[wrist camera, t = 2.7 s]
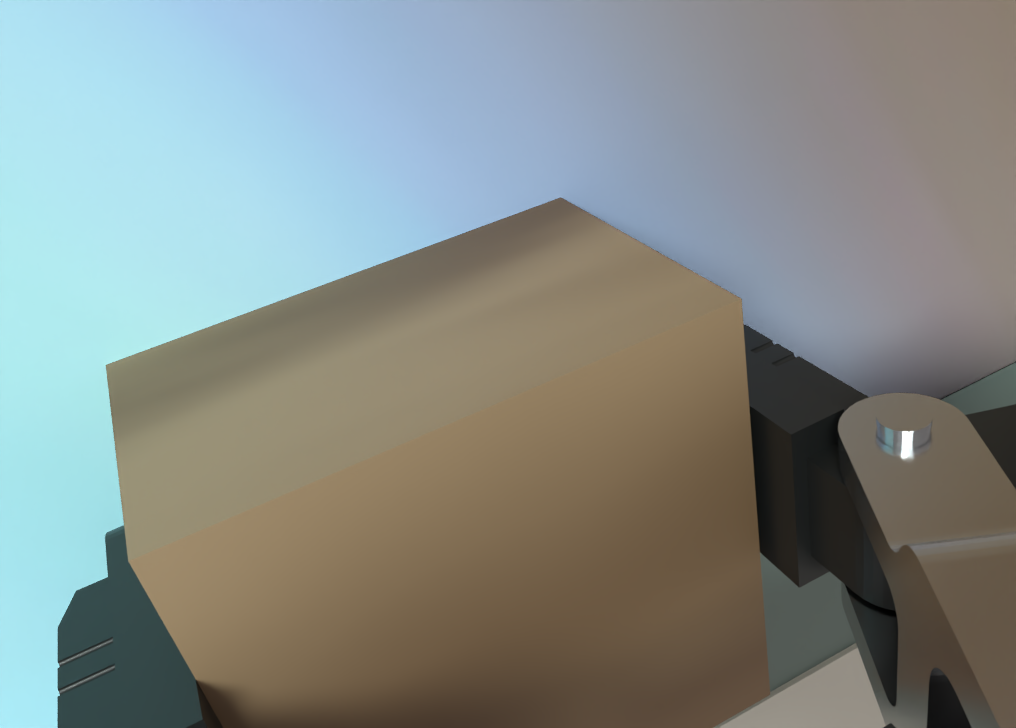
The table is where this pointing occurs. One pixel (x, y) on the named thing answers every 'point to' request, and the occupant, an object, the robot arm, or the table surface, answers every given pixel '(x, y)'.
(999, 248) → the table surface
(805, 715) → the board
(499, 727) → the walnut brick
